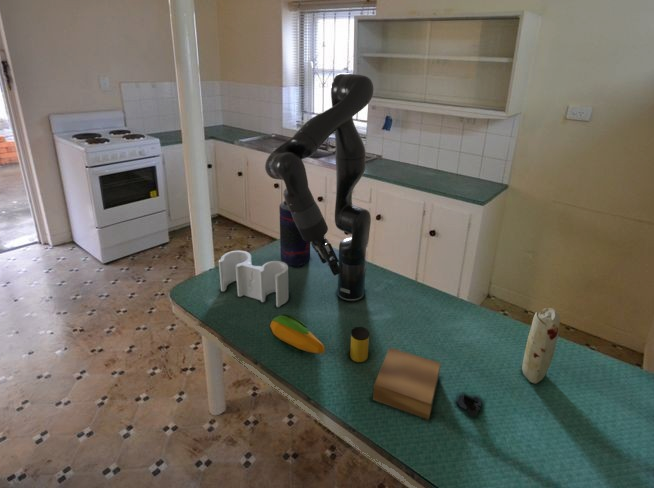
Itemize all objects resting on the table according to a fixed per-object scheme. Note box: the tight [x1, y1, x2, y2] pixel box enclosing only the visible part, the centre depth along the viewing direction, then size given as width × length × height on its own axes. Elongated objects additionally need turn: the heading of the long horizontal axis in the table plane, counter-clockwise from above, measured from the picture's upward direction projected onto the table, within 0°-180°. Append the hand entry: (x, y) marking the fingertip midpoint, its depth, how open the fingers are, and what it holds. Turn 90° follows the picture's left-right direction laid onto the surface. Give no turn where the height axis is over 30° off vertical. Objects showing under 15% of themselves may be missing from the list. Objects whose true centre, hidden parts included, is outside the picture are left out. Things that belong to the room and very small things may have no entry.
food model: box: [521, 307, 561, 384], centre depth 107 cm, size 10×7×20 cm
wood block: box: [372, 346, 442, 420], centre depth 104 cm, size 14×14×5 cm
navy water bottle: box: [278, 200, 311, 268], centre depth 158 cm, size 14×12×30 cm
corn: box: [269, 314, 326, 354], centre depth 117 cm, size 7×8×20 cm
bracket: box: [218, 249, 290, 308], centre depth 140 cm, size 25×10×12 cm, turn 67°
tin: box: [349, 326, 370, 363], centre depth 114 cm, size 5×5×8 cm
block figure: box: [456, 394, 482, 418], centre depth 100 cm, size 6×2×6 cm
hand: (331, 267), depth 114 cm, fingers open, 8 cm apart
